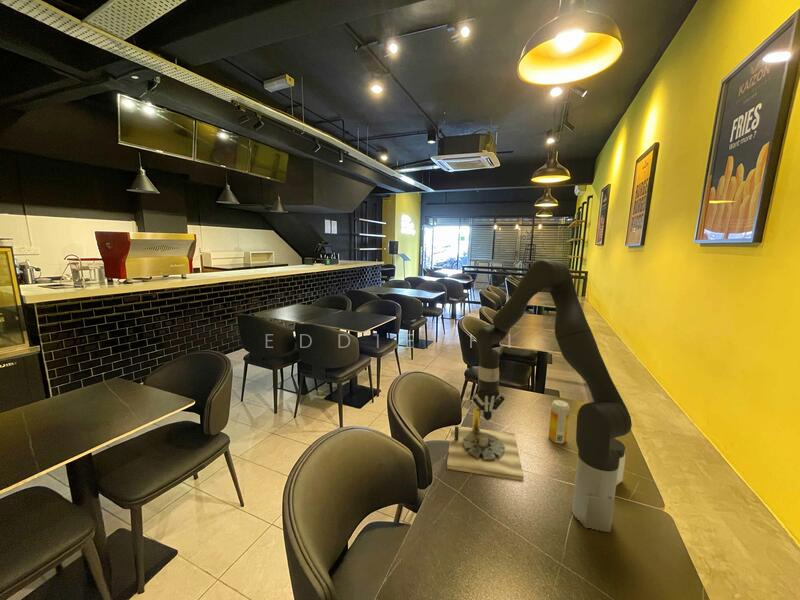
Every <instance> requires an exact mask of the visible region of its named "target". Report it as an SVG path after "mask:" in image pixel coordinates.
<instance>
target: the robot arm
mask: <svg viewBox="0 0 800 600" xmlns="http://www.w3.org/2000/svg"><path fill="white" fill-rule="evenodd" d="M542 290H543V291H548V292H549V294H550V296H551V298H552V301H553V303H554V307H555V318H554V335H555V339H556V342H557V345H558V347H559V350H560V353H561V355H562V357H563V359H564V360H565V362H567V363H568V364H569V365H570V367H571V368H572V369H573V370H574V371H576V372H577V374H578V375H579V376H580V377H581V378H582V379H583V381H584V382H585V383H586V385H587V386H588V389H589V392H590V393H591V396H592V399H593V401H591V402H587V403H584V404H582V405H580V407H579V409H578V411H577V415H576V427H575V428H576V431H575V432H576V433H575V441H576V442H575V443H576V446H577V451H578V452H577V460H576V469H575V479H574V486H573V496H572V504H571V505H572V506H571V511H572V514H573V517H575V518H577V519H576V520H577V521H578V520H579V521H580V522H579V521H578V522H579V523H580V524H581V525H582V526H583V527H585V528H584V529H587V528H592V529H591V530H593V529H595V530H594V531H599V530H600V531H599V532H604V533H605V532H606V533H611V530H612V521H613V514H614V507H615V496H616V490H617V485H616V483H617V476H618V469H619V461H620V458H619V455H618V453H617V452H616V451H615V450H614V449H613V448H611V447H610V439H612V438H615V439H616V438H619V437H622V436H623V437H624V436H626V435H627V434H629V433H630V432H631V430H632V418H631V414H630V412H629V410H628V407H627V406H626V404H625V402H624V400H623V398H622V396H621V394H620V392H619V391H618V389H617V387H616V385H615V384H614V381H613V379H612V377H611V375H610V373H609V369H607V366H606V363H605V361H604V360H603V357H602V355H601V352H600V349H599V348H598V344H597V341H596V339H595V336H594V333H593V332H592V330H591V329H592V328H591V327H590V325H589V323H588V320H587V318H586V315H585V313H584V310H583V308H582V305H581V302H580V301H579V298H578V294H577V291H576V287H575V284H574V280H573V276H572V273H571V271H570V268H569V267H568V265H566V263H565V262H562V261H560V260H553V259H547V258H546V259H544V258H543V259H542V258H541V259H538V260H536V261H535V262H533V263H532V264H531V265H530V267H529V268H528V270H527V271H526V272H525V274H524V275H523V277H522V279H521V280H520V282H519V284H518V285H517V287H516V288H515V290H514V292H513V293H512V294H511V296H510V297H509V299H508V300H506V302H505V304H504V305H503V306H502V307H501V308H500V309H499V310H498V311H497V312H496V313H495V315H493V318H492V324H490V325H485V326H481V327H480V328H478V329H477V332H476V334H475V341H476V345H477V349H478V353H479V362H478V363H479V366H478V374H477V377H478V379H477V380H478V381H477V391H476V394H475V395H471V397H470V398H471V399H472V401H473V402H474V403H475V405H476V407H477V408H480V411H483V413H482V416H483V418H484V420H485V421H490V420H491V419H492V415H493V414H492V413H493V410H494V411H495V410H497V409H498V408H499V407H500V405H501V404H503V403H504V401H505V400H506V398H505V397H504V395H503V394H501V393H500V391H499V388H500V387H499V386H500V385H499V384H500V383H499V381H500V367H499V365H500V364H499V363H500V353H499V352H498V351H497V350H495V349H493V345H495V344H498V343H500V342H502V341H503V340H504V339H505V338H506V336H507V335H508V333H509V332H510V330H511V329H512V328H513V327H514V326H516V324H517V323H518V322H519V321H520V319H522V317H523V316H524V314H525V312H526V309H527V305H528V303H529V301H530V300H531V299H532V298H533V297H534V296H536V295H537V294H538V293H540V292H541V291H542ZM479 400H480V401H481V402H482V404H481V403H480V401H479Z"/></svg>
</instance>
